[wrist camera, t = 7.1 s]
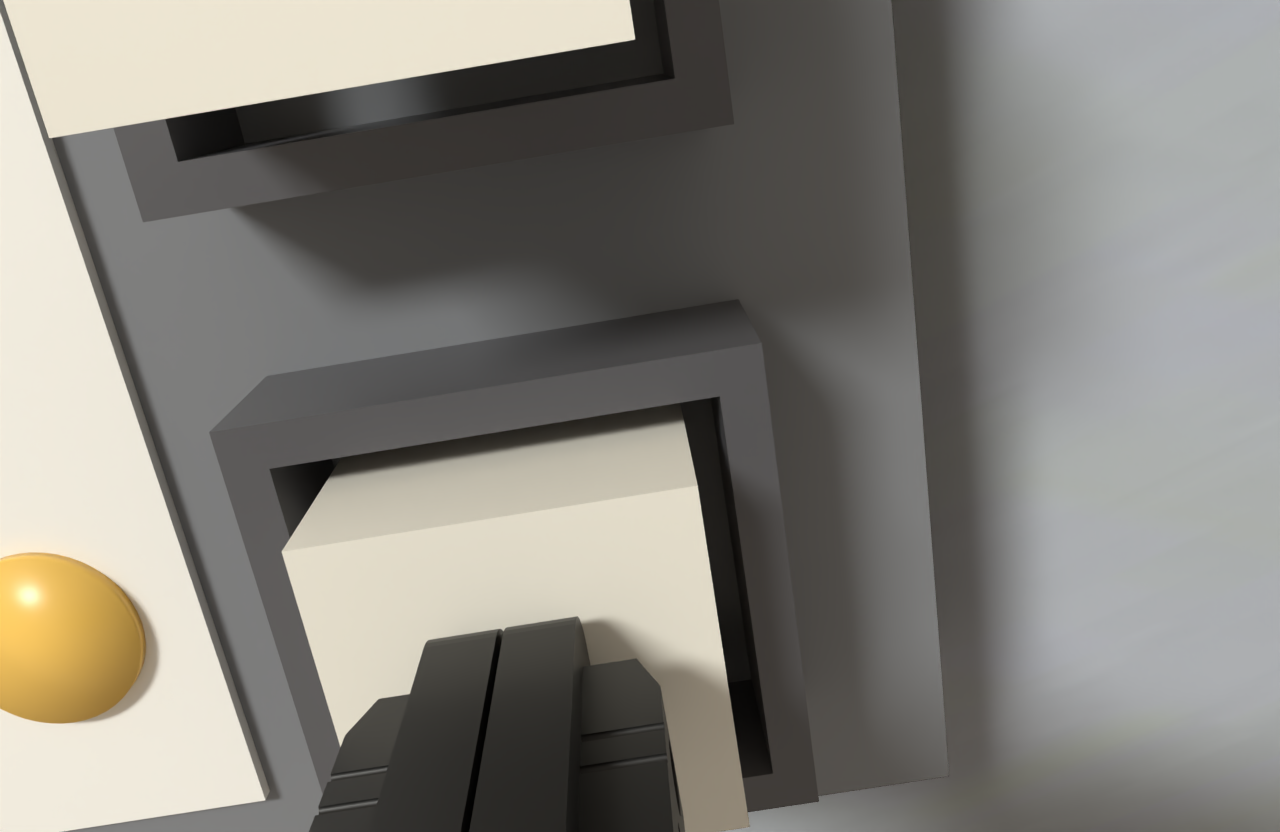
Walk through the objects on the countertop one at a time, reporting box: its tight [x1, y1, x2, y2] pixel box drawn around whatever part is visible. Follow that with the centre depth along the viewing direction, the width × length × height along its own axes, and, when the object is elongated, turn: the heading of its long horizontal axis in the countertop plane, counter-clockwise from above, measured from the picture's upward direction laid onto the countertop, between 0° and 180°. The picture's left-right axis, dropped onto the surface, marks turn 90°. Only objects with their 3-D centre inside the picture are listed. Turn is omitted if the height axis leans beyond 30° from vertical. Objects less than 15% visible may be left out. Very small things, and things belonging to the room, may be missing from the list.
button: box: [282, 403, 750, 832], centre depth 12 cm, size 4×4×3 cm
